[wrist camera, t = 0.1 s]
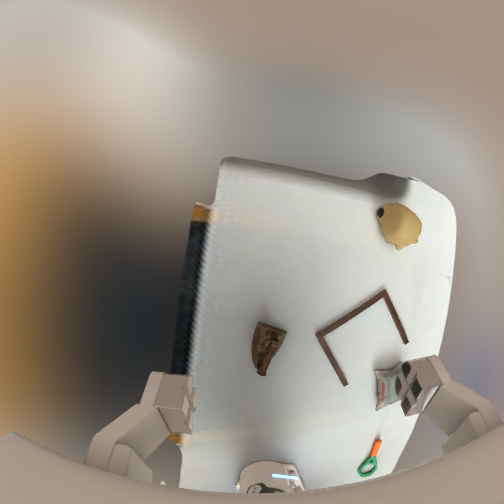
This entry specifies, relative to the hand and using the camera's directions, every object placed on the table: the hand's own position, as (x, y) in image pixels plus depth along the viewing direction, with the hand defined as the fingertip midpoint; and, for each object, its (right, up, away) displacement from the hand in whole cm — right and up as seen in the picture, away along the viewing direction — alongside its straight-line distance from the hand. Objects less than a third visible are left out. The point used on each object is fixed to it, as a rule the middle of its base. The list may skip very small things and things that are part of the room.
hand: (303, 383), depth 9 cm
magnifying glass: (+33, -56, +50) cm, 83 cm away
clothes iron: (+1, -17, +53) cm, 56 cm away
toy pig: (+33, +11, +55) cm, 65 cm away
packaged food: (+33, -30, +52) cm, 69 cm away
